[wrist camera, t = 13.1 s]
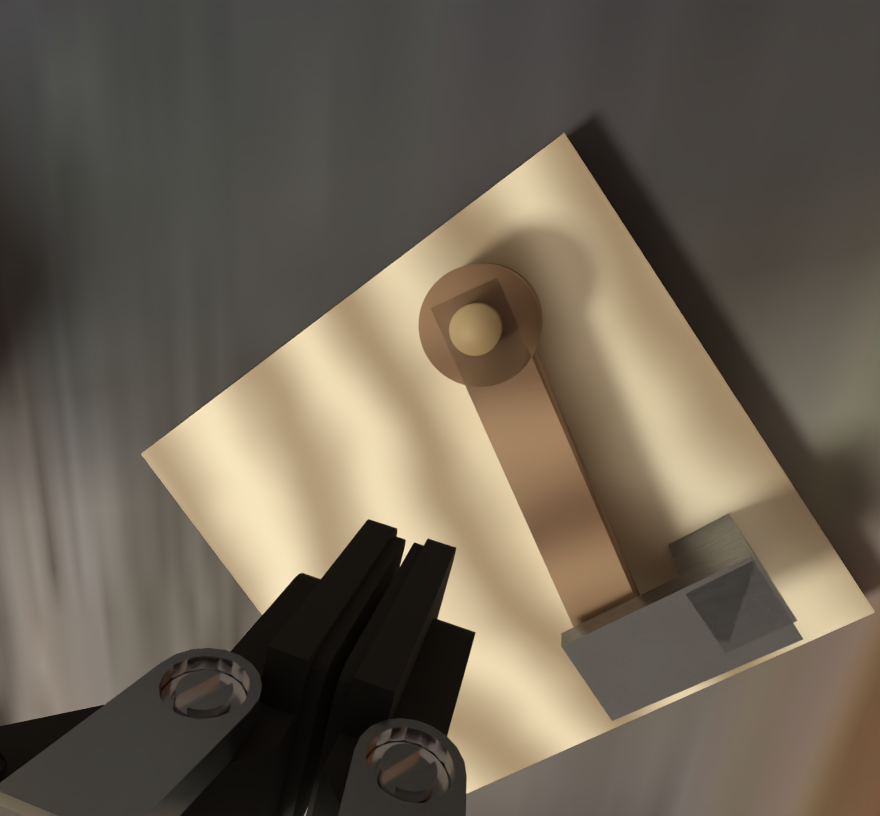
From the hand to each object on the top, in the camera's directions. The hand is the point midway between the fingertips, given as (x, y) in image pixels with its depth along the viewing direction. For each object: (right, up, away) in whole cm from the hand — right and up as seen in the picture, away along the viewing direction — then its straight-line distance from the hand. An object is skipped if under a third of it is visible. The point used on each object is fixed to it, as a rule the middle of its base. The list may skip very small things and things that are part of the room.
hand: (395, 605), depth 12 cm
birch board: (+3, -2, +21) cm, 22 cm away
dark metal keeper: (+11, -5, +19) cm, 23 cm away
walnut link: (+6, 0, +18) cm, 19 cm away
